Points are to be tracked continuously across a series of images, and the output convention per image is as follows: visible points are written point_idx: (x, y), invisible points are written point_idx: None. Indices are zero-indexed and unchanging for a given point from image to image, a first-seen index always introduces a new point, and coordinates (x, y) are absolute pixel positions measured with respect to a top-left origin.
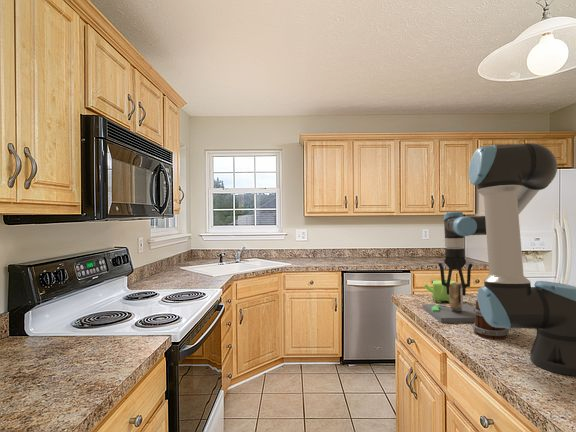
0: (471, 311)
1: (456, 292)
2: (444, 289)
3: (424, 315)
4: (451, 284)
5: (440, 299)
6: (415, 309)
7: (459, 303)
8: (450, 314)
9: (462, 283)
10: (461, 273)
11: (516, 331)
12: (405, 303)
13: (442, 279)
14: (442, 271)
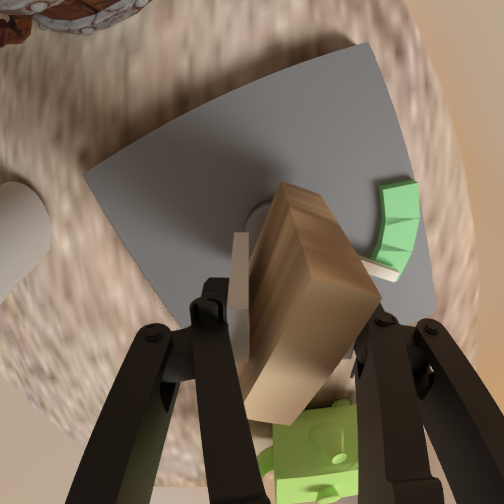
0: (191, 257)
1: (288, 250)
2: (333, 442)
3: (437, 176)
4: (358, 305)
5: (339, 409)
6: (459, 272)
7: (258, 249)
8: (313, 142)
9: (218, 352)
10: (219, 480)
11: (12, 72)
12: (470, 342)
13: (458, 365)
14: (500, 447)
